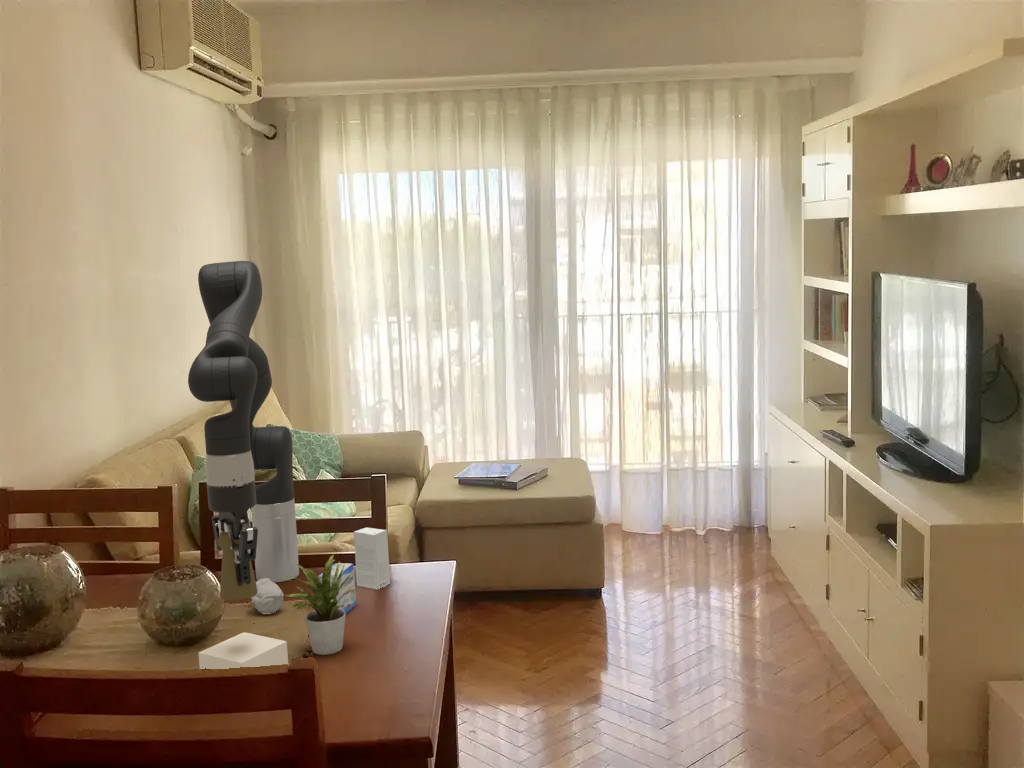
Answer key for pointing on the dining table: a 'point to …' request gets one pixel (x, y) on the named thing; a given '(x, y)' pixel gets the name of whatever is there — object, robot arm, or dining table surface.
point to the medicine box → (344, 586)
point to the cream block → (244, 652)
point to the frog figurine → (267, 596)
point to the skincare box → (372, 558)
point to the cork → (233, 574)
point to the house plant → (323, 609)
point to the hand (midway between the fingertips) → (238, 581)
